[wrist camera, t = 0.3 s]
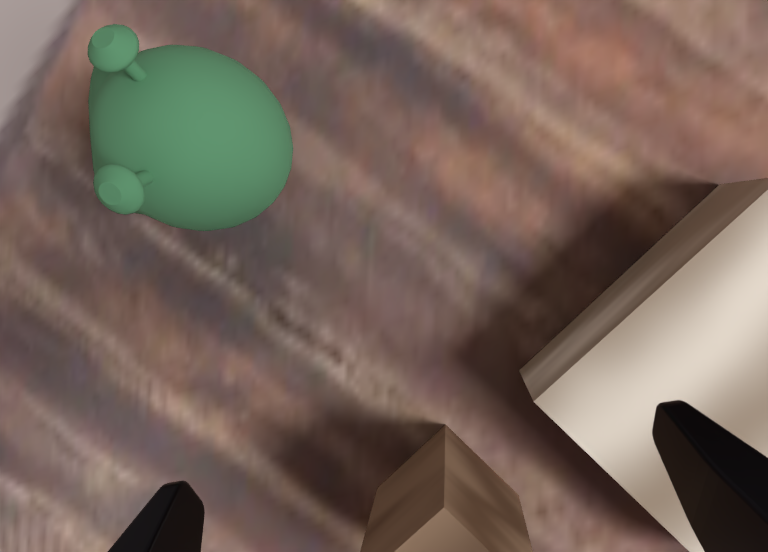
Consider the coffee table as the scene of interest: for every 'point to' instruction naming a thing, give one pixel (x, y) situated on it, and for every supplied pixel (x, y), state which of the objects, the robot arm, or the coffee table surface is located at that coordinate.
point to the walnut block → (446, 504)
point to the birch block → (669, 348)
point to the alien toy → (183, 133)
